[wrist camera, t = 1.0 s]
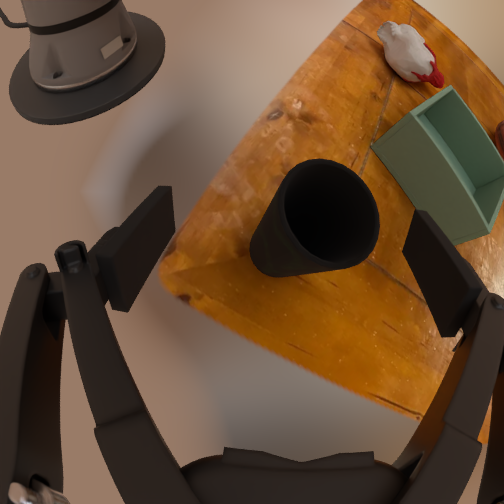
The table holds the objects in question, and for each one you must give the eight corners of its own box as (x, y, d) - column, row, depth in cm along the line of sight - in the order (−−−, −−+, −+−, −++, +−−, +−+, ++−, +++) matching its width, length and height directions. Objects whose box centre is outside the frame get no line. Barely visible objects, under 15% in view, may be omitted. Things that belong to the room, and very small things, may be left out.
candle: (368, 35, 44) (422, 76, 49) (369, 64, 41) (428, 110, 45) (395, 9, 36) (450, 56, 40) (402, 35, 33) (461, 89, 37)
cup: (251, 297, 29) (300, 283, 18) (229, 222, 30) (262, 164, 19) (320, 276, 31) (393, 252, 20) (298, 207, 32) (357, 154, 21)
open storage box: (369, 146, 37) (409, 111, 28) (419, 111, 43) (450, 84, 34) (441, 249, 37) (489, 233, 28) (475, 192, 42) (511, 175, 34)
